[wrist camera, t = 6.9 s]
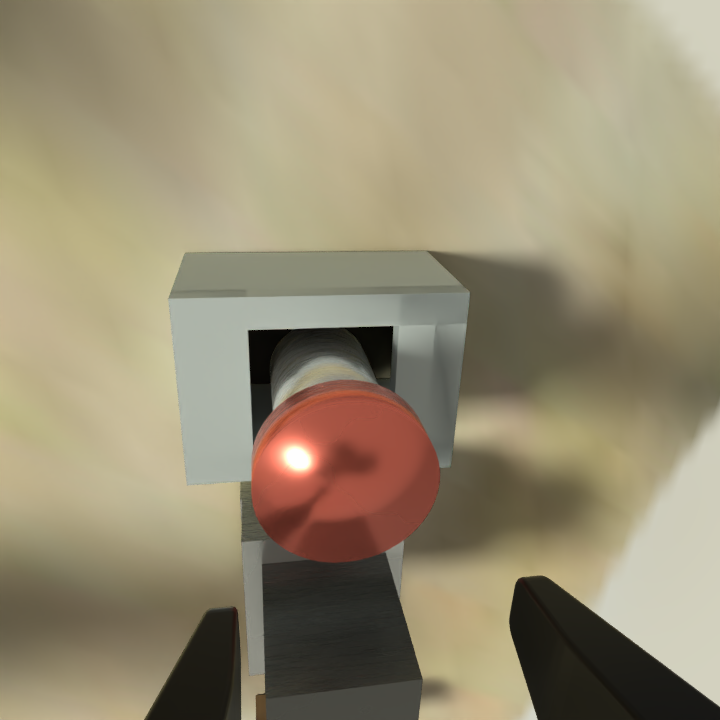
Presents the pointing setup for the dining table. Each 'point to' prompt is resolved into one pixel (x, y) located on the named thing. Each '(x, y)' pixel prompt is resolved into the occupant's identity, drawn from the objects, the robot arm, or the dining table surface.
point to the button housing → (297, 311)
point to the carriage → (327, 632)
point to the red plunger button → (338, 453)
